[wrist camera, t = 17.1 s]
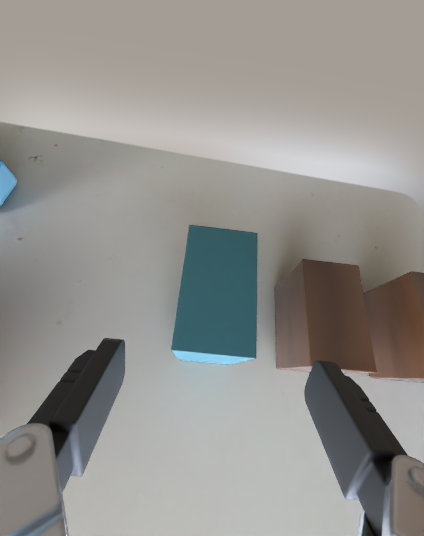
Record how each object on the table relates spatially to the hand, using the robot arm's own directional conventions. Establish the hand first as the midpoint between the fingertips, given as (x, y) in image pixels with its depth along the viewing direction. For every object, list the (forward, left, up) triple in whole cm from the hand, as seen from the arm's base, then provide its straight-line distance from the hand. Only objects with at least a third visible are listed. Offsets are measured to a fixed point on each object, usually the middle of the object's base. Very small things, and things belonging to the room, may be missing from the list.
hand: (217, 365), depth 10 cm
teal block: (+4, -2, -13) cm, 13 cm away
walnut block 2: (-5, -18, -13) cm, 23 cm away
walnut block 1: (0, -10, -13) cm, 16 cm away
